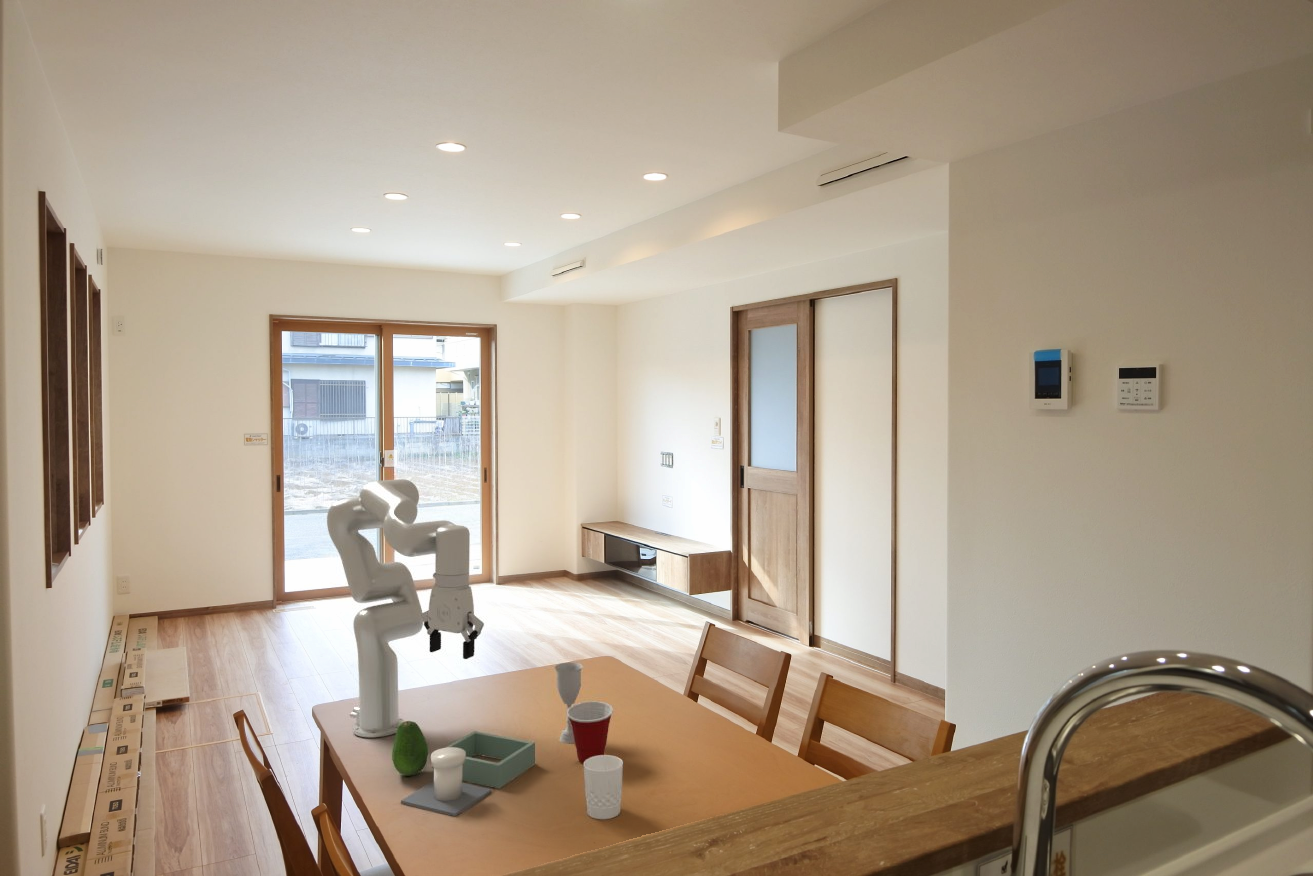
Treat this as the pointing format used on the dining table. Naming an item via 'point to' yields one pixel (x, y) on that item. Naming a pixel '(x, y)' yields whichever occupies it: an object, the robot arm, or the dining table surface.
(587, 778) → the white cup
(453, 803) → the mat
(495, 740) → the green open box
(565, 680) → the chalice
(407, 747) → the avocado
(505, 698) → the dining table surface
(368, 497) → the robot arm
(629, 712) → the dining table surface
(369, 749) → the dining table surface
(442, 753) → the white mushroom shaped cylinder
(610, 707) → the plastic cup
